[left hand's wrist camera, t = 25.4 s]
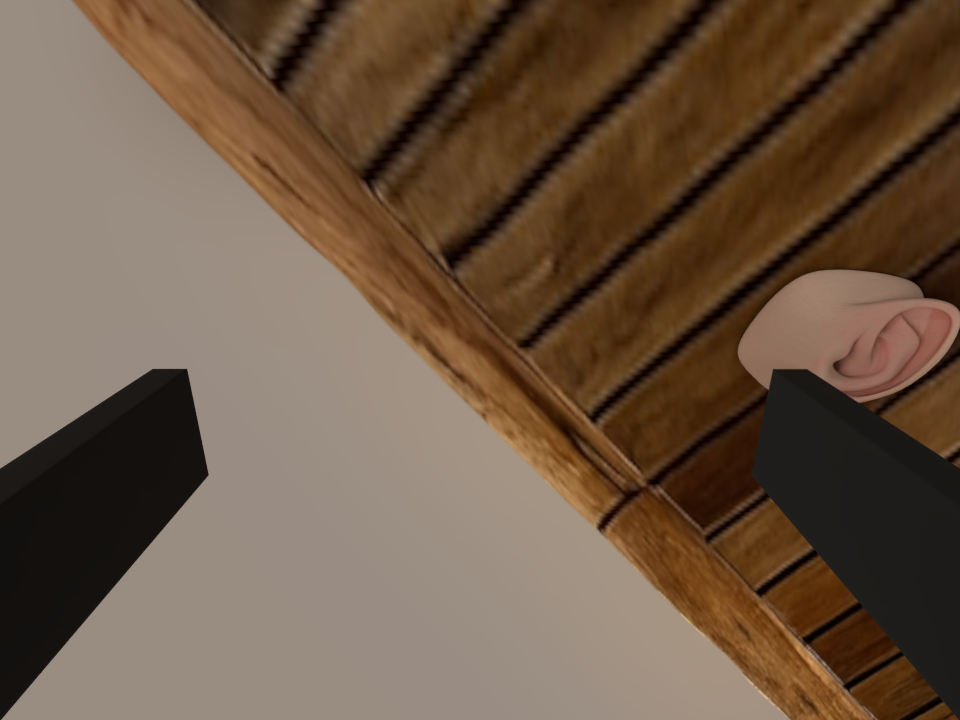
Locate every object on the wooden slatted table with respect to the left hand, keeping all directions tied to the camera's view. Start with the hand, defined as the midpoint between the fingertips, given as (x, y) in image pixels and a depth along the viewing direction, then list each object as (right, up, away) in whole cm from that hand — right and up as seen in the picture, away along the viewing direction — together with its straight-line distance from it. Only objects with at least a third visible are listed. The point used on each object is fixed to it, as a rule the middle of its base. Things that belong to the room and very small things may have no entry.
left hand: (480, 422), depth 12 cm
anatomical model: (+28, +3, +31) cm, 41 cm away
